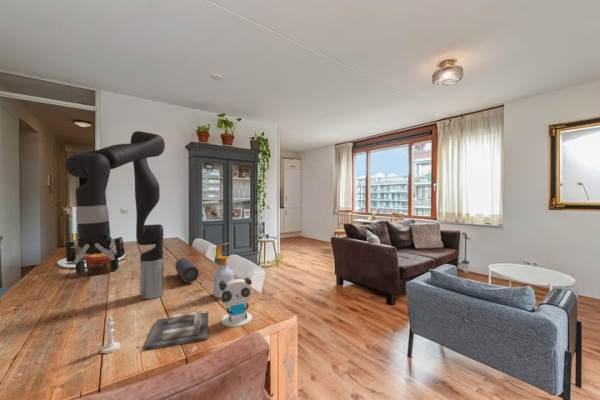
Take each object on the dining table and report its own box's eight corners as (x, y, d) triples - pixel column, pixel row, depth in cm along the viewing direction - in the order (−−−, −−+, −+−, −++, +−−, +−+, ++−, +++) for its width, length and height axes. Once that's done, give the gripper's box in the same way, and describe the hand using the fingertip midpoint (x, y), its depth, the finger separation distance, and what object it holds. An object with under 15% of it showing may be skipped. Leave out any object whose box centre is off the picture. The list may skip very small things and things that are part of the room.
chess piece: (107, 344, 81) (106, 313, 81) (123, 343, 82) (123, 312, 82) (96, 354, 76) (95, 321, 76) (113, 353, 77) (113, 320, 77)
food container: (104, 276, 148) (104, 258, 148) (77, 276, 148) (76, 257, 148) (123, 268, 164) (123, 251, 164) (99, 268, 164) (98, 251, 164)
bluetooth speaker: (200, 282, 138) (200, 264, 137) (181, 286, 132) (181, 267, 132) (191, 272, 156) (191, 255, 156) (174, 274, 151) (174, 257, 151)
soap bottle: (228, 299, 116) (228, 245, 116) (210, 297, 118) (209, 244, 117) (237, 291, 125) (236, 241, 124) (219, 290, 127) (219, 240, 126)
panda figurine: (221, 329, 90) (221, 287, 90) (218, 315, 101) (217, 277, 100) (255, 322, 95) (255, 282, 95) (248, 310, 105) (248, 273, 105)
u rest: (144, 350, 78) (144, 340, 78) (157, 322, 96) (156, 314, 95) (207, 339, 84) (207, 330, 84) (208, 314, 101) (208, 307, 101)
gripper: (125, 217, 83) (129, 266, 84) (73, 220, 79) (78, 271, 81) (114, 220, 76) (119, 274, 77) (56, 224, 72) (62, 280, 73)
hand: (98, 272), depth 79 cm, fingers open, 8 cm apart
